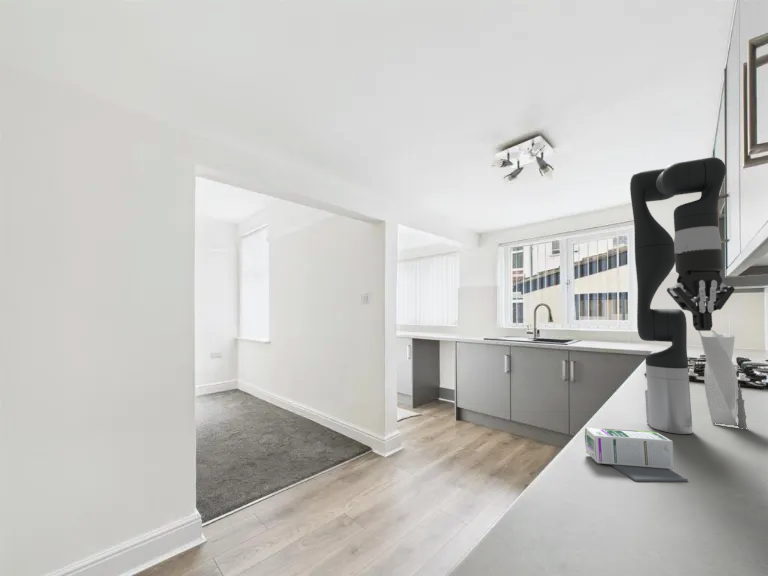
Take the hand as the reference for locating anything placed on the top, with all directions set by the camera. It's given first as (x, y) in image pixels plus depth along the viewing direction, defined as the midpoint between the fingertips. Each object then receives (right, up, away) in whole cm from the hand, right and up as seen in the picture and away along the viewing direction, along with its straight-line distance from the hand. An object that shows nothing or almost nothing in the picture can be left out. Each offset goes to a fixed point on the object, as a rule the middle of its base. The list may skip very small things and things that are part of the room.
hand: (702, 330), depth 73 cm
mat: (-16, -28, -2) cm, 32 cm away
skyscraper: (+31, -31, +27) cm, 51 cm away
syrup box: (-9, -25, -2) cm, 27 cm away
